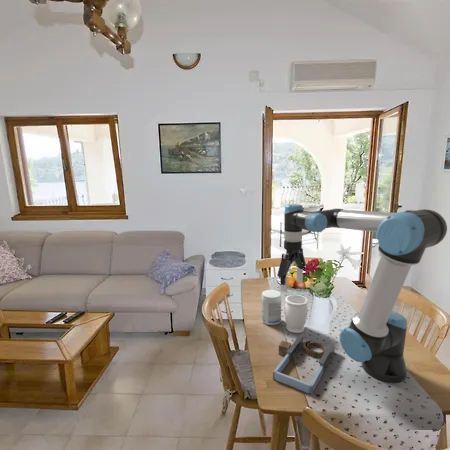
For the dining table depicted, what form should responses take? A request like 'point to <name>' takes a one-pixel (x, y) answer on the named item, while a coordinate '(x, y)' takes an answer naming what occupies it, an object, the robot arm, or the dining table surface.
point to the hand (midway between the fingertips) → (291, 286)
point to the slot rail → (325, 356)
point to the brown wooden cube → (284, 347)
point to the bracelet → (312, 352)
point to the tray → (293, 381)
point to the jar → (296, 313)
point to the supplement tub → (271, 307)
